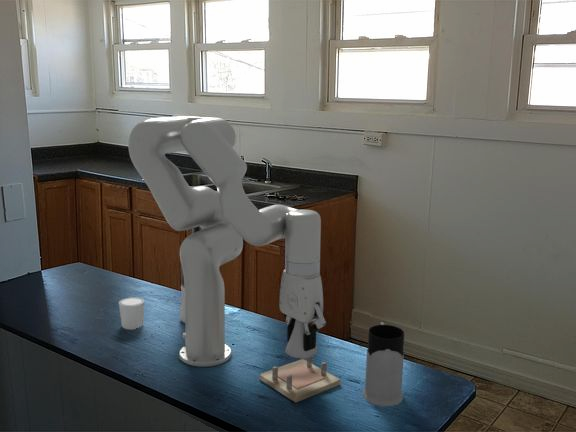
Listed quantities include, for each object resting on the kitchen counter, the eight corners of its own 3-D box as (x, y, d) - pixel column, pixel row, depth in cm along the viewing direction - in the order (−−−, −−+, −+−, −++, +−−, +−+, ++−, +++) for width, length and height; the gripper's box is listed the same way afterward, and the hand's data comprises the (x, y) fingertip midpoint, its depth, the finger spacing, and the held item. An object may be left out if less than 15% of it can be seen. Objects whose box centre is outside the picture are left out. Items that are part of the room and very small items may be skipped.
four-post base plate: (259, 379, 140) (259, 362, 139) (302, 363, 148) (303, 348, 147) (295, 402, 130) (296, 385, 129) (340, 384, 138) (340, 368, 137)
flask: (297, 342, 142) (297, 302, 140) (323, 351, 138) (324, 309, 136) (278, 353, 136) (279, 311, 134) (305, 362, 132) (306, 319, 130)
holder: (363, 405, 129) (367, 339, 126) (359, 373, 143) (362, 313, 140) (405, 407, 129) (410, 341, 126) (397, 375, 143) (401, 314, 140)
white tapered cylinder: (127, 332, 163) (126, 307, 162) (115, 324, 168) (114, 300, 167) (150, 326, 168) (149, 301, 166) (138, 318, 173) (137, 295, 171)
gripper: (265, 261, 137) (265, 337, 141) (315, 280, 124) (314, 363, 128) (291, 255, 141) (290, 329, 145) (342, 273, 129) (340, 353, 133)
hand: (301, 344), depth 137 cm, fingers closed on flask, 4 cm apart
